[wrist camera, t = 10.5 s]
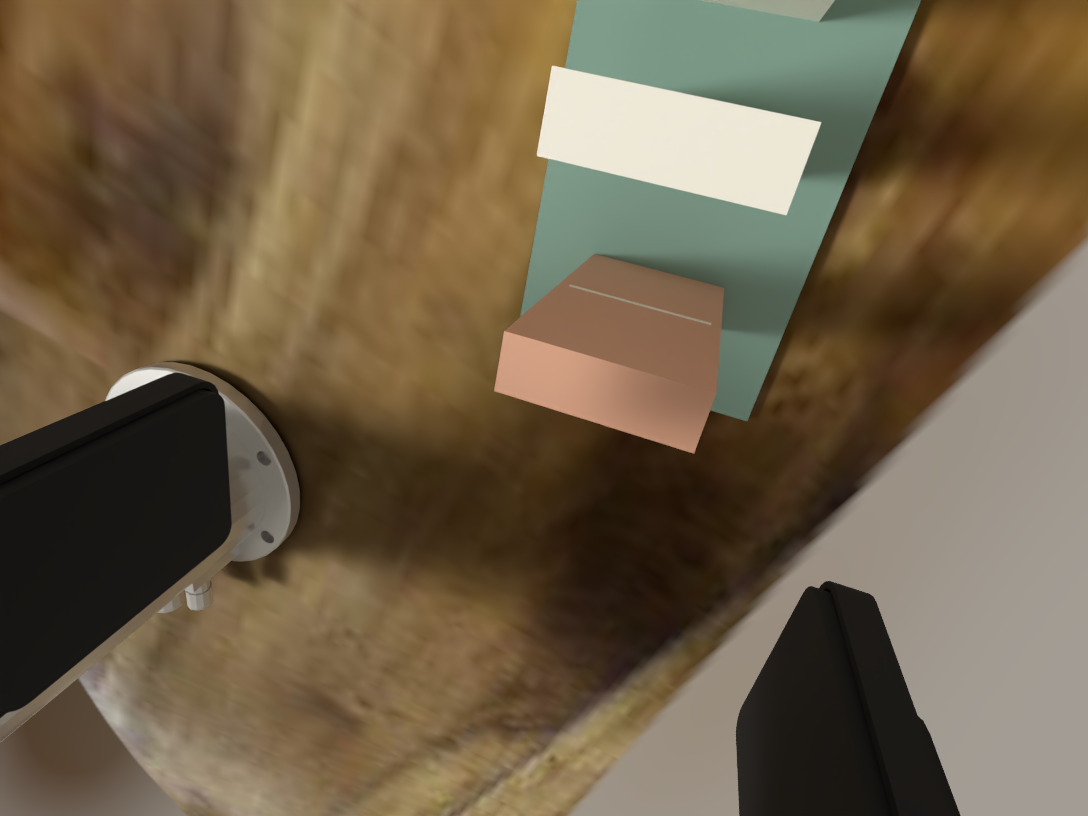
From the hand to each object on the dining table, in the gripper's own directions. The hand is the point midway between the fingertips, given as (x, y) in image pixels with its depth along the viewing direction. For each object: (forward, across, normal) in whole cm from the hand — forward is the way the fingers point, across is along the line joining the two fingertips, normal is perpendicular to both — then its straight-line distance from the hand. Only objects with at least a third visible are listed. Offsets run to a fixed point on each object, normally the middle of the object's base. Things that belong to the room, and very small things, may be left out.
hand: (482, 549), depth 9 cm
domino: (+15, -1, -6) cm, 17 cm away
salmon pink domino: (+16, -1, -1) cm, 16 cm away
